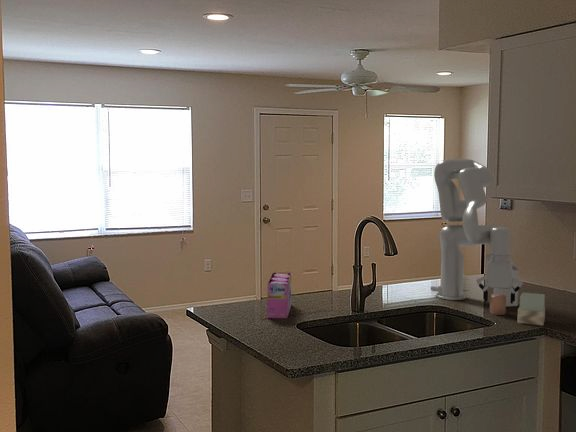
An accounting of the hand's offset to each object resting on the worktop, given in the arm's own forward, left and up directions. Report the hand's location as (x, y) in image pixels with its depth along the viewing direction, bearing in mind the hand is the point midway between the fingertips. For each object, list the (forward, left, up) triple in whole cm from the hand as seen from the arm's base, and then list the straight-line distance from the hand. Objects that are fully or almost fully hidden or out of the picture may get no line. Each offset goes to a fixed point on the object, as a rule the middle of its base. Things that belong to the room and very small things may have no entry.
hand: (499, 302), depth 258 cm
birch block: (+13, -8, -5) cm, 15 cm away
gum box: (-79, -34, -5) cm, 86 cm away
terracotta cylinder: (0, 0, -5) cm, 5 cm away
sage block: (+13, -7, 0) cm, 15 cm away
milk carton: (+1, +16, -5) cm, 17 cm away
